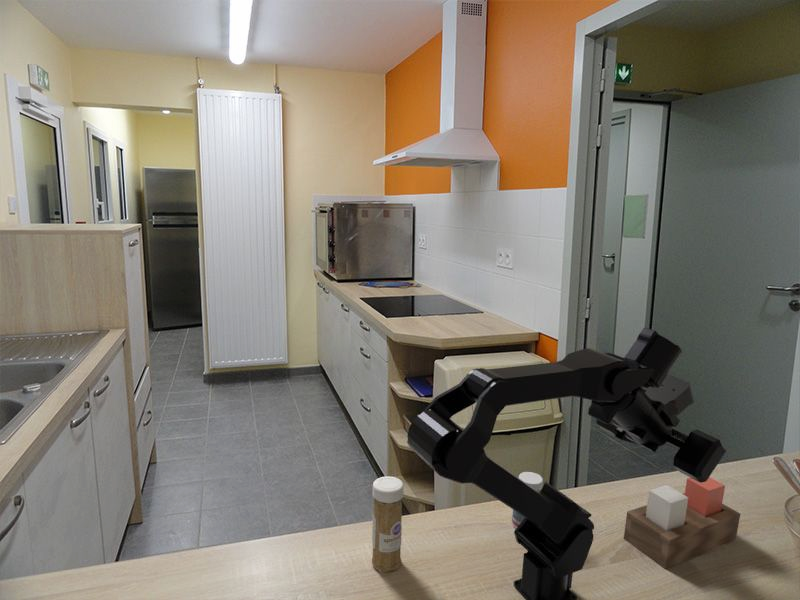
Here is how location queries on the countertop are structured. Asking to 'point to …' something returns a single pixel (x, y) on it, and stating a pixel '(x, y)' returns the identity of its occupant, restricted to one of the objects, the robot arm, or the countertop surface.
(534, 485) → the pill bottle
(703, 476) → the robot arm
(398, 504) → the sprinkles bottle
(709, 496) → the red plug
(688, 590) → the countertop surface
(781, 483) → the countertop surface
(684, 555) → the socket block
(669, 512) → the grey plug
